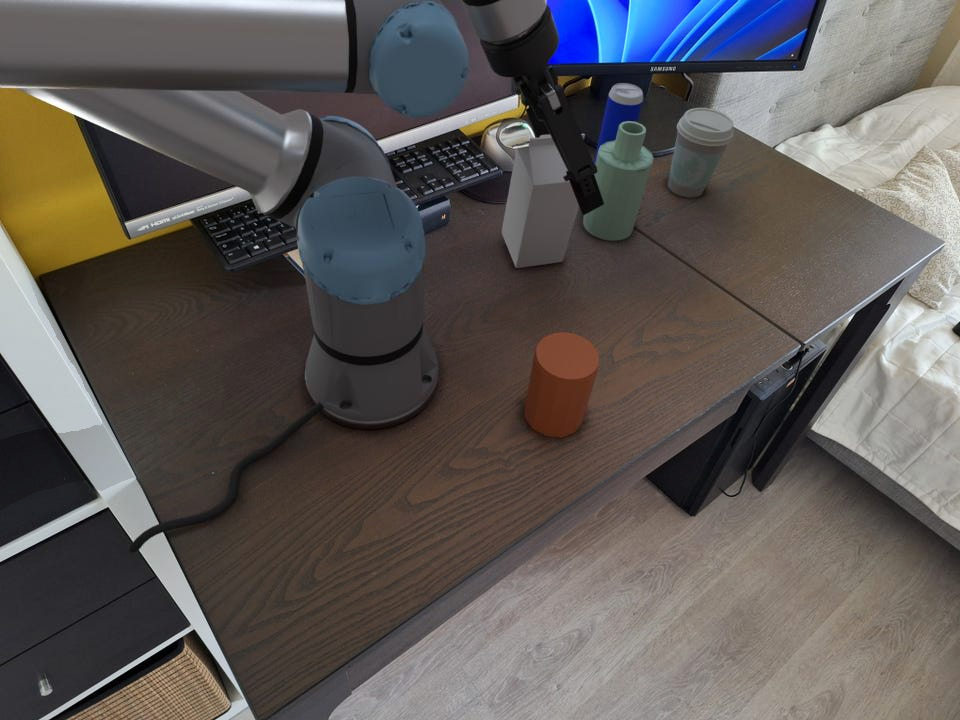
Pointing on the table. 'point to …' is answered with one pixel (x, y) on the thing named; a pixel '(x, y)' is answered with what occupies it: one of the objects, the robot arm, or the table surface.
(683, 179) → the coffee cup
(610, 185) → the bottle
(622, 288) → the table surface
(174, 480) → the table surface
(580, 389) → the cylinder
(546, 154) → the juice carton
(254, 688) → the table surface
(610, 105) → the beverage can
